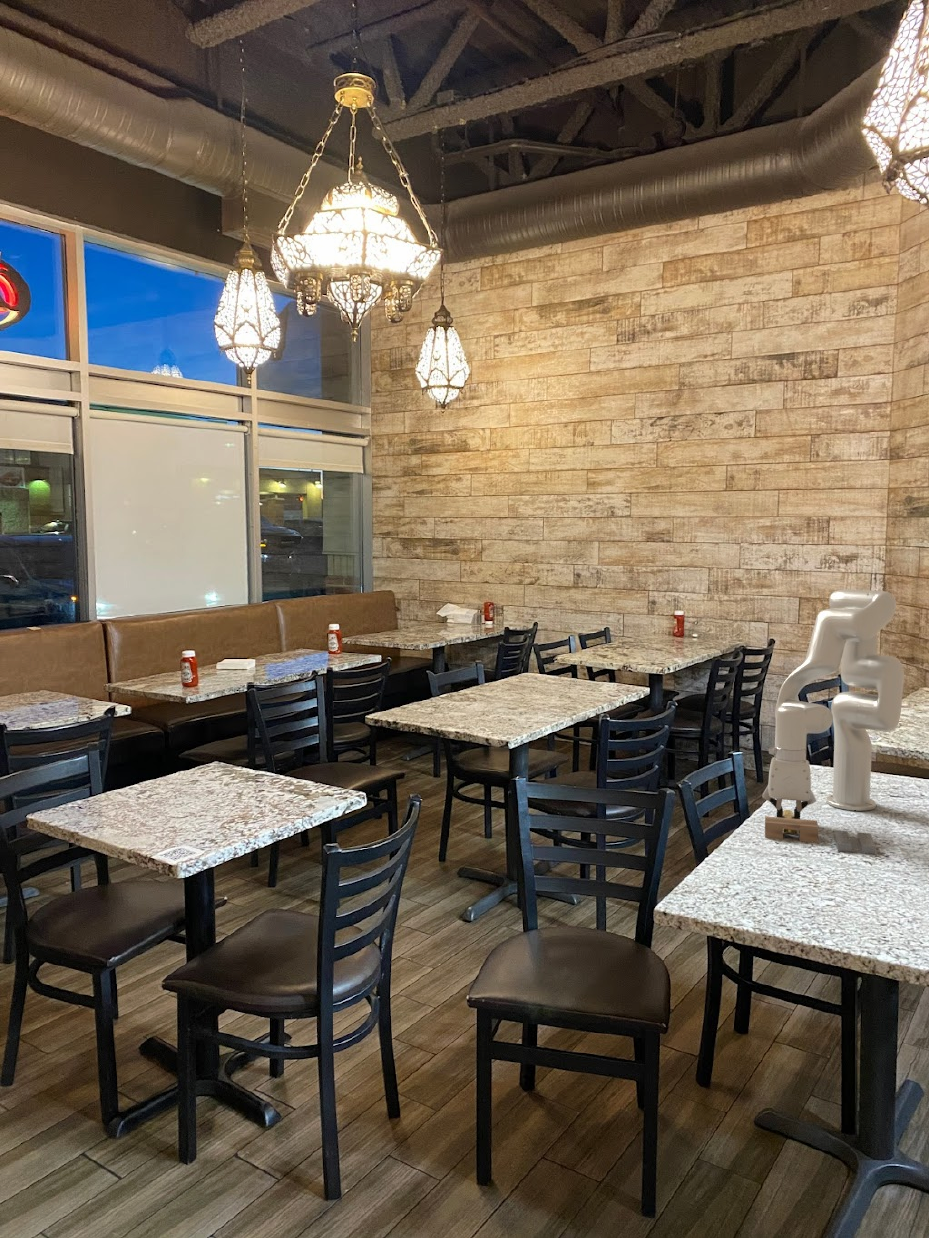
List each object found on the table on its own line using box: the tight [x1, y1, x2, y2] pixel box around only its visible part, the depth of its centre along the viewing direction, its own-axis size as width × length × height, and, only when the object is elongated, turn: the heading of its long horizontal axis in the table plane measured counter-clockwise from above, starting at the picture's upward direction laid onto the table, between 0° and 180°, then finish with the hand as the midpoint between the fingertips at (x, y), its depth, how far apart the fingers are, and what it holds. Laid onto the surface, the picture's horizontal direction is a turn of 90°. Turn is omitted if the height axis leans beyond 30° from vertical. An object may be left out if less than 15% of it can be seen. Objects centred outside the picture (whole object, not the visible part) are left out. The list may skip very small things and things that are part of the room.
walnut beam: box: [764, 815, 819, 843], centre depth 214 cm, size 5×12×5 cm, turn 72°
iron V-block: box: [833, 829, 877, 856], centre depth 207 cm, size 10×8×3 cm
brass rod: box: [783, 809, 797, 835], centre depth 223 cm, size 14×3×3 cm, turn 162°
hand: (788, 823), depth 226 cm, fingers closed on brass rod, 3 cm apart
